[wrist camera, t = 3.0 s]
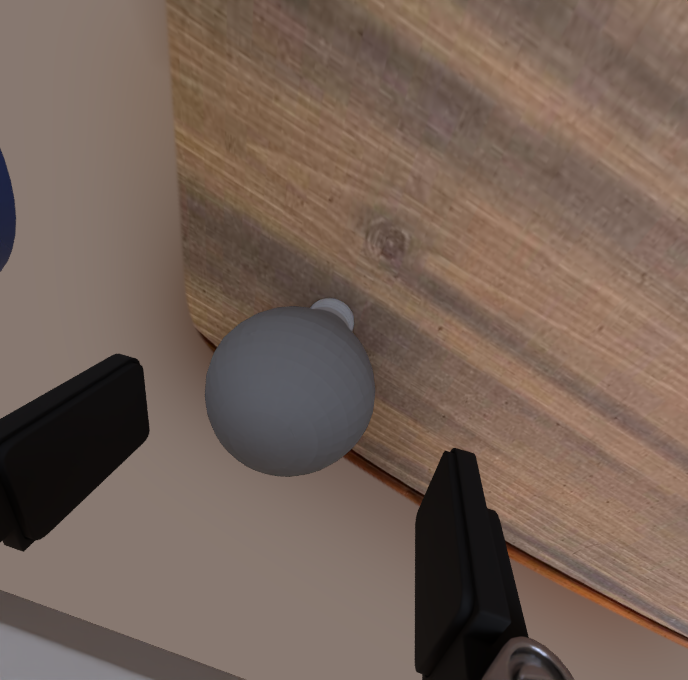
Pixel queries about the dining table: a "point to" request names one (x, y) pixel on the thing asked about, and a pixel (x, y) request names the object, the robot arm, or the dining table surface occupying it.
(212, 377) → the light bulb
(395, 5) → the dining table surface
